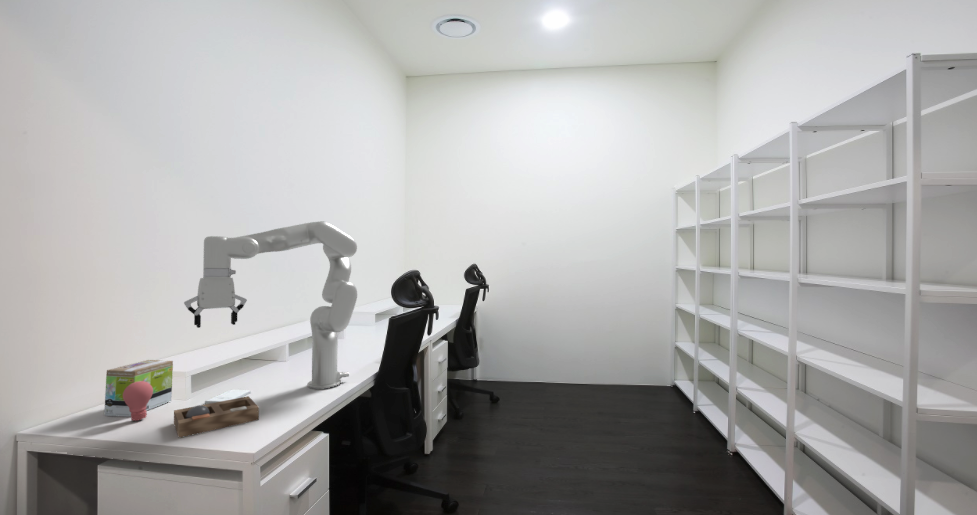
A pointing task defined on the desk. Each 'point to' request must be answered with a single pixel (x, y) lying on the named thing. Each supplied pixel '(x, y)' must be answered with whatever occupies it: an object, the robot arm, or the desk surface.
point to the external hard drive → (228, 396)
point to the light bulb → (138, 399)
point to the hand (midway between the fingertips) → (216, 325)
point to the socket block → (217, 416)
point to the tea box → (147, 371)
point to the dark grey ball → (197, 411)
